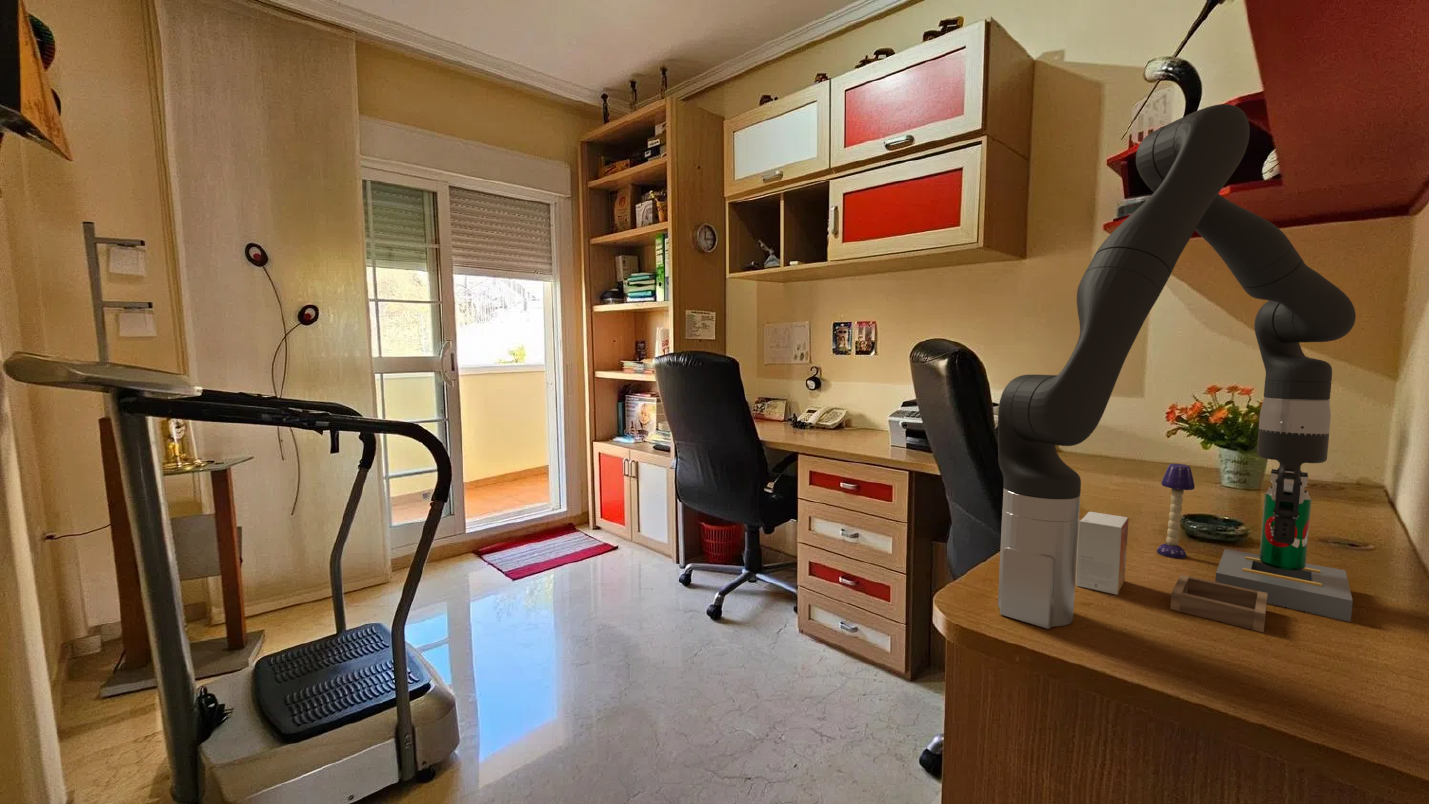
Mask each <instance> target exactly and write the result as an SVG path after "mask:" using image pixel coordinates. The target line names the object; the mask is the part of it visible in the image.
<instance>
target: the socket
mask: <svg viewBox="0 0 1429 804" xmlns="http://www.w3.org/2000/svg"><path fill="white" fill-rule="evenodd" d="M1259 556H1260V554H1257V553H1252V552H1247V551H1242V550H1241V551H1240V550H1235V549H1228V548H1224V550H1223V553H1222V554H1221V558H1220V561H1219V563H1218V566H1217V569H1216V571H1215V579H1214V582H1219V583H1223V584H1228V585H1233V586H1237V587H1242V588H1247V589H1251V590H1256V591H1261V592H1265V593H1268V595H1267V605H1272V604H1273V606H1276V605H1277V607H1281V606H1282V607H1283V608H1285V607H1287V608H1286V609H1290V610H1294V609H1295V611H1299V610H1300V612H1303V611H1305V612H1304V613H1308V612H1309V613H1308V614H1313V615H1317V616H1322V617H1327V618H1330V619H1336V620H1340V621H1344V622H1349V623H1351V620H1352V614H1353V613H1352V611H1353V602H1354V599H1353V597H1352V593H1351V587H1350V584H1349V580H1348V575H1347V572H1346V570H1345V569H1340V568H1335V567H1328V566H1323V565H1318V564H1317V565H1316V564H1313V563H1312V564H1311V563H1307V562H1306V567H1305V568H1304V569H1302V570H1300V571H1288V570H1282V569H1277V568H1273V567H1270V566H1267V565H1265V564H1264V563H1263V562H1262V561H1261V560H1260V559H1259Z"/></svg>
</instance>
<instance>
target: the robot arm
mask: <svg viewBox="0 0 1429 804" xmlns="http://www.w3.org/2000/svg"><path fill="white" fill-rule="evenodd" d="M1249 123H1250V122H1249V119H1248V116H1247V115H1246V113H1245V111H1243V110H1242V109H1241V108H1239V107H1238V106H1236V105H1233V104H1229V103H1228V104H1227V103H1220V104H1214V105H1211V106H1207V107H1204V108H1201V109H1199V110H1195V111H1193V112H1192V113H1189V114H1187V115H1185V116H1183V117H1181V118H1179V119H1177V120H1174V121H1173V122H1170V123H1168V124H1166V125H1164V126H1162V127H1160V128H1158V129H1156V130H1154V131H1152V132H1150V133H1149V134H1148V135H1146V136H1145V137H1144V138H1143V139H1142V140H1141V141H1140V143H1139V145H1138V148H1137V150H1136V154H1135V165H1136V169H1137V172H1138V174H1139V176H1140V178H1141V179H1142V181H1143V182H1144V183H1145V184H1146V186H1147V188H1149V189H1150V190H1151V191H1152V192H1153V193H1152V194H1151V196H1149V197H1148V199H1146V200H1145V201H1144V202H1143V203H1142V204H1141V205H1139V207H1138V208H1137V209H1135V211H1133V212H1132V213H1131V214H1130V215H1129V216H1128V217H1126V219H1125V220H1124V221H1123V222H1122V223H1120V224H1119V225H1118V226H1117V227H1116V228H1115V229H1114V230H1113V231H1112V232H1111V233H1110V234H1109V235H1108V237H1106V239H1104V241H1103V242H1102V243H1101V245H1099V248H1098V249H1097V251H1096V252H1095V254H1094V255H1093V257H1092V259H1091V260H1090V263H1089V265H1088V266H1087V268H1086V269H1085V271H1084V273H1083V275H1082V277H1081V280H1080V282H1079V284H1078V286H1077V290H1076V307H1077V310H1076V311H1077V315H1078V322H1079V336H1078V339H1077V342H1076V344H1075V347H1074V349H1073V351H1072V353H1071V355H1070V357H1069V359H1068V360H1067V362H1066V364H1065V365H1064V367H1063V368H1062V370H1061V371H1060V372H1059V373H1058V374H1057V375H1055V374H1022V375H1019V376H1017V377H1015V378H1013V379H1011V380H1010V381H1009V382H1008V384H1007V385H1006V386H1005V387H1004V389H1003V390H1002V393H1001V396H1000V399H999V404H998V410H997V411H998V413H997V453H998V454H997V456H998V457H997V459H998V466H999V469H1000V471H1001V474H1002V477H1003V486H1002V487H1003V490H1002V491H1003V493H1002V495H1003V496H1002V511H1001V514H1002V515H1001V527H1000V530H1001V531H1000V533H1001V535H1000V548H999V549H1000V553H999V571H998V595H997V606H998V608H999V615H1002V616H1004V617H1008V618H1011V619H1014V620H1017V621H1020V622H1024V623H1028V624H1031V625H1035V626H1037V627H1040V628H1043V629H1048V630H1049V629H1051V628H1052V627H1061V626H1068V625H1069V624H1071V623H1073V621H1074V610H1075V608H1074V607H1075V594H1076V592H1075V591H1076V567H1077V548H1078V530H1079V521H1080V506H1081V491H1082V490H1081V487H1082V480H1081V476H1080V475H1079V473H1077V471H1076V470H1074V469H1073V468H1072V467H1070V466H1069V465H1067V464H1066V463H1065V462H1064V461H1063V459H1061V457H1060V456H1059V453H1058V452H1057V450H1056V446H1060V447H1061V446H1062V447H1072V446H1077V445H1080V444H1081V443H1083V442H1084V441H1086V440H1087V439H1088V438H1089V437H1090V436H1091V435H1092V434H1093V433H1094V431H1095V430H1096V429H1097V427H1098V425H1099V423H1100V422H1101V420H1102V417H1103V415H1104V413H1105V412H1106V411H1105V410H1106V408H1107V406H1108V403H1109V401H1110V398H1111V396H1112V394H1113V391H1114V387H1116V386H1115V385H1116V383H1117V380H1118V378H1119V376H1120V373H1121V371H1122V368H1123V365H1124V363H1125V361H1126V359H1127V357H1128V355H1129V352H1130V351H1131V349H1132V347H1133V345H1134V343H1135V341H1136V339H1137V337H1138V335H1139V333H1140V330H1141V328H1142V327H1143V325H1144V323H1145V321H1146V319H1147V317H1148V316H1149V314H1150V312H1151V311H1152V308H1153V307H1154V305H1155V304H1156V302H1157V300H1158V299H1159V297H1160V295H1161V294H1162V292H1163V290H1164V288H1165V287H1166V284H1167V282H1168V280H1169V279H1170V277H1171V275H1172V272H1173V271H1174V268H1175V266H1176V264H1177V262H1178V260H1179V258H1180V256H1181V254H1182V253H1183V252H1184V249H1185V248H1186V246H1187V244H1189V241H1190V240H1191V237H1192V236H1193V234H1194V232H1196V233H1197V234H1198V235H1199V236H1201V238H1203V240H1205V242H1207V243H1208V244H1209V245H1210V246H1211V248H1213V250H1214V251H1215V252H1216V253H1217V255H1218V256H1219V257H1220V258H1221V260H1222V261H1223V262H1224V263H1225V265H1226V266H1227V268H1228V269H1229V271H1230V272H1231V274H1232V275H1233V276H1234V278H1235V279H1236V281H1237V282H1238V284H1239V285H1240V287H1242V289H1243V290H1244V292H1246V293H1247V295H1248V296H1250V297H1251V298H1253V299H1257V300H1262V301H1266V302H1265V303H1263V305H1262V306H1261V307H1260V308H1259V310H1258V311H1257V313H1256V315H1255V319H1254V325H1253V326H1254V333H1255V338H1256V340H1257V344H1258V347H1259V351H1260V352H1259V353H1260V356H1261V360H1262V363H1263V366H1264V370H1265V377H1264V379H1265V380H1264V387H1263V388H1264V389H1263V399H1262V404H1261V407H1260V411H1259V421H1258V423H1259V424H1258V432H1257V434H1258V435H1257V447H1256V455H1257V456H1258V457H1260V458H1263V459H1267V460H1273V461H1277V462H1278V464H1279V466H1278V467H1277V469H1275V468H1271V470H1270V483H1271V485H1272V486H1271V487H1272V494H1271V500H1272V501H1274V502H1275V509H1273V514H1274V517H1275V525H1274V536H1273V539H1274V541H1276V542H1280V543H1286V544H1293V543H1294V537H1295V526H1296V520H1297V518H1299V512H1298V507H1299V505H1302V504H1303V501H1304V490H1305V488H1307V486H1308V481H1309V480H1308V479H1309V472H1307V471H1305V472H1304V471H1302V470H1301V467H1302V465H1303V464H1306V463H1307V464H1321V463H1322V464H1323V463H1326V461H1327V460H1328V451H1329V441H1330V430H1331V422H1332V420H1331V419H1332V418H1331V417H1332V413H1331V411H1332V410H1331V405H1330V404H1331V402H1330V401H1331V400H1330V399H1331V392H1332V391H1331V390H1332V381H1333V367H1332V365H1331V364H1330V363H1329V362H1327V361H1325V360H1321V359H1319V358H1318V359H1317V358H1313V357H1309V356H1306V355H1305V354H1304V352H1303V350H1302V348H1301V345H1300V343H1326V342H1332V341H1336V340H1339V339H1342V338H1343V337H1345V336H1347V335H1348V333H1350V332H1351V330H1353V328H1354V325H1355V323H1356V317H1357V316H1356V314H1357V313H1356V309H1355V306H1354V304H1353V302H1352V300H1351V299H1350V298H1349V296H1347V294H1346V293H1345V292H1344V291H1343V290H1341V289H1340V288H1339V287H1338V286H1336V285H1335V284H1334V283H1332V282H1331V281H1330V280H1328V279H1326V277H1324V276H1322V274H1320V273H1319V272H1318V271H1316V270H1314V269H1313V268H1311V267H1309V266H1308V265H1307V264H1306V263H1305V262H1304V260H1303V258H1302V257H1301V255H1300V254H1299V252H1298V251H1297V249H1296V248H1295V247H1294V245H1293V244H1292V242H1291V241H1290V239H1289V238H1288V236H1287V235H1286V234H1285V233H1284V232H1283V231H1282V230H1281V228H1279V227H1278V226H1276V225H1275V224H1274V223H1272V222H1271V221H1269V220H1267V219H1265V218H1263V217H1262V216H1259V214H1256V213H1254V212H1252V211H1250V210H1248V209H1246V208H1243V207H1242V206H1239V205H1237V204H1236V203H1234V202H1232V201H1230V200H1228V198H1225V197H1224V196H1223V195H1221V194H1220V192H1221V191H1222V189H1223V188H1224V186H1225V185H1226V184H1227V182H1228V181H1229V180H1230V178H1231V177H1232V176H1233V174H1234V172H1235V171H1236V169H1237V168H1238V166H1239V164H1240V163H1241V162H1242V160H1243V158H1244V155H1245V154H1246V151H1247V147H1248V146H1249V141H1250V136H1251V135H1250V134H1251V133H1250V131H1251V129H1250V124H1249ZM1281 502H1286V503H1292V504H1293V505H1294V509H1289V508H1281V507H1280V508H1279V505H1280V503H1281Z"/></svg>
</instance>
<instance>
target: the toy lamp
mask: <svg viewBox="0 0 1429 804" xmlns="http://www.w3.org/2000/svg"><path fill="white" fill-rule="evenodd" d="M1160 484H1161V486H1163V487H1165V488H1168V489H1169V488H1170V489H1171V490H1170V491H1171V492H1170V493H1171V496H1170V502H1171V503H1170V505H1169V510H1170V512H1169V514H1168V518H1169V520H1168V522H1167V526H1168V529H1167V530H1166V534H1167V535H1166V536H1167V537H1166V539H1165V541H1166V543H1162V544H1160V545H1159V546H1158V547H1157V549H1156V553H1157V554H1159V555H1160V556H1164V557H1167V558H1171V559H1186V558H1187V552H1186V550H1185V549H1184V548H1183V547H1182V546H1180V545H1179V538H1178V537H1179V536H1180V528H1181V519H1182V513H1181V512H1182V511H1183V510H1182V509H1183V505H1182V504H1183V500H1184V499H1183V495H1184V491H1193V490H1195V481H1194V476H1193V473H1192V469H1191V467H1190V465H1187V464H1184V463H1183V464H1182V463H1170V464H1168V466H1167V468H1166V471H1165V473H1164V476H1163V478H1162V480H1161V483H1160Z"/></svg>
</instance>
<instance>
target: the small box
mask: <svg viewBox="0 0 1429 804" xmlns="http://www.w3.org/2000/svg"><path fill="white" fill-rule="evenodd" d="M1128 533H1129V517H1126V516H1121V515H1113V514H1107V513H1101V512H1095V511H1088V512H1087V513H1086V514H1085V515H1084V517H1083V518H1081V519H1079V525H1078V542H1077V559H1076V577H1075V587H1076V586H1077V587H1080V588H1085V589H1090V590H1095V591H1099V592H1103V593H1108V594H1113V595H1117V596H1118V595H1119V592H1120V590H1121V588H1122V586H1123V585H1124V583H1125V580H1126V577H1125V576H1126V575H1125V574H1126V564H1127V563H1126V561H1127V547H1128V546H1127V545H1128Z"/></svg>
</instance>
